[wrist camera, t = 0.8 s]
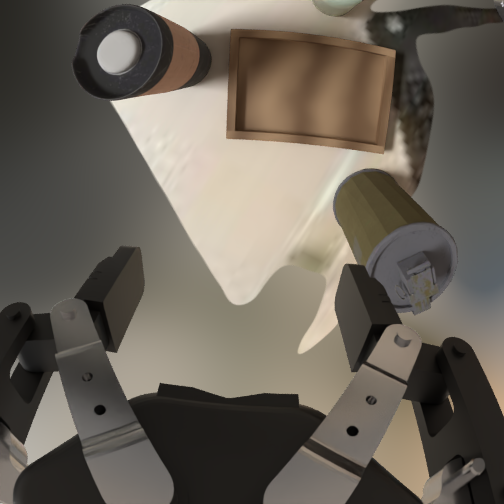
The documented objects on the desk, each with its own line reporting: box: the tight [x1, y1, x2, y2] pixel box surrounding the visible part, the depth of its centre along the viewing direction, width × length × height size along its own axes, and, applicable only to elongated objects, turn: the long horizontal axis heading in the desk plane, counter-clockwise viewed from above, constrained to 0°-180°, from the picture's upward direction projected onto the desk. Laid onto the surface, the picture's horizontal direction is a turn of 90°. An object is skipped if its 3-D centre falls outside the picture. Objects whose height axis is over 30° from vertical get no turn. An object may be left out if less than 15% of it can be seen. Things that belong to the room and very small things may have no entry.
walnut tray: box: [226, 29, 396, 154], centre depth 35 cm, size 20×14×2 cm
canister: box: [333, 169, 458, 315], centre depth 34 cm, size 11×10×20 cm
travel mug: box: [72, 4, 211, 101], centre depth 26 cm, size 8×8×20 cm
